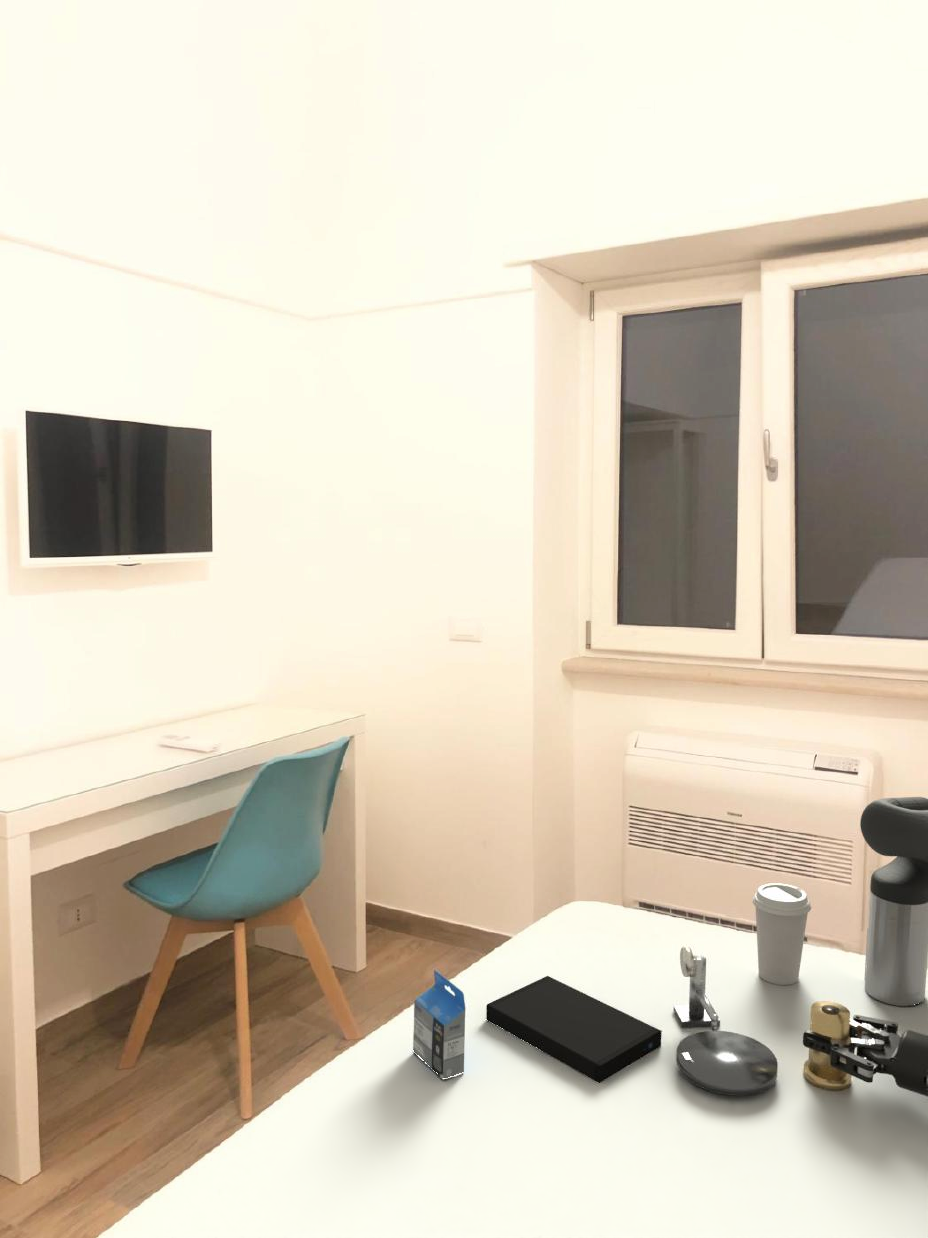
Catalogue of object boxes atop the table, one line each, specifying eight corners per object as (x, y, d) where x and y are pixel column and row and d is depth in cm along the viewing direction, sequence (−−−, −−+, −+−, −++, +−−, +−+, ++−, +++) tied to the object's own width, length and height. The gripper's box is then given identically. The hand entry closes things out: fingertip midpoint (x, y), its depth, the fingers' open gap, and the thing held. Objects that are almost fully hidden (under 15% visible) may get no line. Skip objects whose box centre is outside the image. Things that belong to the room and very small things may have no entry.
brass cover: (796, 1066, 150) (799, 998, 149) (839, 1064, 150) (843, 997, 149) (813, 1091, 144) (817, 1022, 142) (858, 1090, 144) (862, 1020, 143)
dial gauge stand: (673, 1011, 165) (675, 941, 164) (710, 1010, 166) (712, 940, 164) (694, 1053, 153) (697, 978, 152) (734, 1051, 154) (737, 977, 152)
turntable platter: (665, 1041, 155) (665, 1030, 154) (757, 1038, 155) (757, 1027, 155) (691, 1097, 141) (692, 1085, 141) (792, 1093, 142) (792, 1081, 141)
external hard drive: (548, 992, 172) (548, 975, 172) (661, 1049, 155) (661, 1030, 155) (486, 1022, 163) (486, 1004, 162) (599, 1086, 146) (600, 1066, 145)
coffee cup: (815, 990, 172) (819, 904, 170) (757, 989, 172) (761, 903, 170) (797, 963, 182) (801, 881, 180) (743, 962, 182) (746, 881, 180)
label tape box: (411, 1053, 153) (411, 975, 152) (435, 1045, 156) (435, 968, 154) (442, 1082, 146) (442, 1000, 144) (466, 1074, 148) (466, 993, 146)
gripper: (951, 1020, 143) (827, 984, 153) (927, 1067, 132) (794, 1025, 142) (948, 1070, 144) (824, 1032, 154) (923, 1122, 133) (792, 1076, 143)
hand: (811, 1029), depth 148 cm, fingers closed on brass cover, 5 cm apart
